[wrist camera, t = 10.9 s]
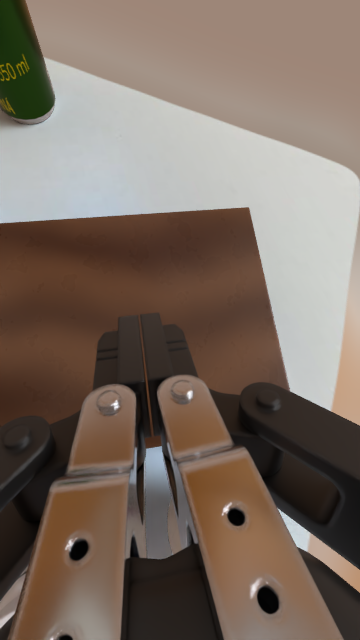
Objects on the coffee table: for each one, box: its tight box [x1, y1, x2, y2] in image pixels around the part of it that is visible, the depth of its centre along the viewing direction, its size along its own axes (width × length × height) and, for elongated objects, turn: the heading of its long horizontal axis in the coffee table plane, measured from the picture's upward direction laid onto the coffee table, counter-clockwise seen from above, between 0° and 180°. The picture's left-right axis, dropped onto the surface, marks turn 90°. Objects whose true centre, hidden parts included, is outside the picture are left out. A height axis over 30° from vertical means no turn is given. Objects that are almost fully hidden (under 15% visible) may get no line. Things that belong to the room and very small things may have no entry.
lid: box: [0, 207, 290, 449], centre depth 17 cm, size 13×16×1 cm
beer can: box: [0, 0, 55, 124], centre depth 24 cm, size 5×5×12 cm
